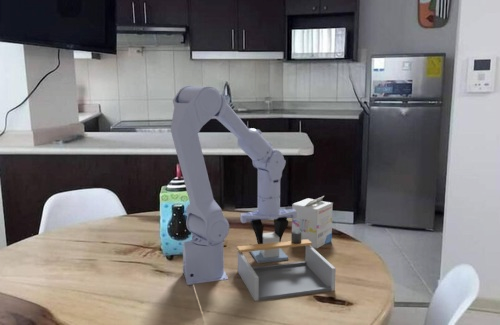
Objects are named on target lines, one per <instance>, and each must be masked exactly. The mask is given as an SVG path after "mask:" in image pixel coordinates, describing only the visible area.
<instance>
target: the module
mask: <svg viewBox="0 0 500 325" xmlns="http://www.w3.org/2000/svg"><path fill="white" fill-rule="evenodd" d="M275 242H280V237H279V236H278V235H277V234H276V233H275V231H274V232H263V244H265V243H275ZM260 253H261V254H262V255H263V257H264V258H266V257H275V256H279V248H278V249H269V250H260Z"/></svg>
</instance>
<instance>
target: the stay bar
mask: <svg viewBox="0 0 500 325" xmlns="http://www.w3.org/2000/svg"><path fill="white" fill-rule="evenodd" d="M301 234H302V233H301V232H299V231H293V232H292V231H291V237H290V239H291V240H288V241H281V242H275V243H265V244H258V243H256V244H247V245H237V246H236V249H237V252H238V251H239V252H242V253H248V252H250V251H259V250H269V249H278V248H281V249H286V248H297V247H306V246H307V245H312V242H310V241H309V240H308V239H305V240H301Z"/></svg>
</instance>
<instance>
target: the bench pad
mask: <svg viewBox="0 0 500 325" xmlns="http://www.w3.org/2000/svg"><path fill="white" fill-rule="evenodd" d="M249 252H250V254H251V256H252V257H253V258H254V260H255V261H256V262H257V264H264V263H271V262H272V263H274V262H280V261H281V262H283V261H289V256H288V255H287V254H286V253H285V252H284V251H283V250H282V248H279V256H275V257H266V258H264V257H263V255H262V254H261V253H260V250H259V251H249Z"/></svg>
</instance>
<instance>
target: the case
mask: <svg viewBox="0 0 500 325" xmlns="http://www.w3.org/2000/svg"><path fill="white" fill-rule="evenodd" d="M304 260H305V261H304ZM304 260H303V261H294V262H286V263H278V264H269V265H268V264H267V265H260V266H258V265H257V266H252V265H251V264H250V262H249V261H248V260H247V258H246V256H245V255H244V252H239V251H238V250H237V272H238V274H239V276H240V278H241V280H242V282H243V283H244V285H245V287H246V289H247V290H248V292H249V294H250V296H251V297H252V299H253V300H254V302H258V301H259V302H262V301H267V300H275V299H282V298H291V297H298V296H305V295H311V294H312V295H313V294H320V293H327V292H334V291H336V270H337V269H336V267H335V266H334V265H333V264H332V263H330V262H329V261H328V260H327V259H326V258H325V257H324V256H323V255H321V254H320V253H319V251H317V250H316V248H313V247H312V246H311V245H307V246H305V259H304Z"/></svg>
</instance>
